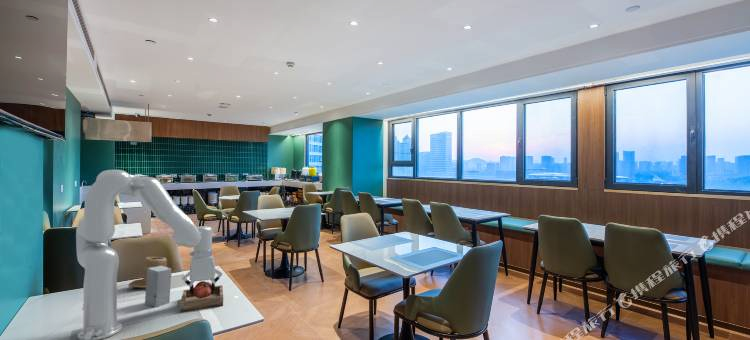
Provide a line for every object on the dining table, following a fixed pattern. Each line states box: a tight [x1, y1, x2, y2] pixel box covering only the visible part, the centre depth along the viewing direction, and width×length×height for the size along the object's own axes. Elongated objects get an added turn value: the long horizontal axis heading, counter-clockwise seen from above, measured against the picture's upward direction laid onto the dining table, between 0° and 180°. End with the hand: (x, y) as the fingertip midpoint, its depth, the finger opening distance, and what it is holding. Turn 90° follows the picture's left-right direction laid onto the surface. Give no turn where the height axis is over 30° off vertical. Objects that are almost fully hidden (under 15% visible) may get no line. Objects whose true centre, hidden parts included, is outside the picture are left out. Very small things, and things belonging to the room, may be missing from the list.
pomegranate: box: [193, 280, 211, 298], centre depth 154 cm, size 7×7×10 cm
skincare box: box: [144, 266, 172, 308], centre depth 153 cm, size 8×7×16 cm
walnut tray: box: [179, 285, 224, 313], centre depth 155 cm, size 16×16×4 cm
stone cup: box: [128, 256, 168, 289], centre depth 176 cm, size 15×12×15 cm
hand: (202, 293), depth 154 cm, fingers closed on pomegranate, 7 cm apart
